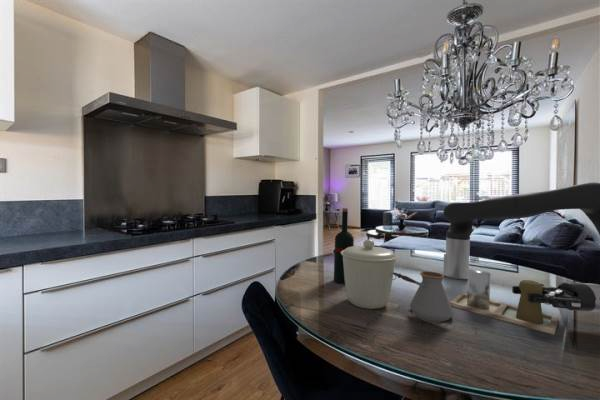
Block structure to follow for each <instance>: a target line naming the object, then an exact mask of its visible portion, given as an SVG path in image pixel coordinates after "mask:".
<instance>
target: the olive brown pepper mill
mask: <svg viewBox="0 0 600 400" xmlns="http://www.w3.org/2000/svg"><path fill="white" fill-rule="evenodd" d="M541 284H542V283H540V282H538V281H534V280H530V279H529V280H528V279H523V280H520V282H519V284H518V286H519V288H520V290H521V294H519V295H520V297H519V300H518V305H517V307H518V309H517V314H516V318H517V319H519V320H523V321H527V322H530V323H534V324H538V325H541V324H543V316H542V313H543V311H542V309H543V308H542V303H531V302H529V301H528V294H541V293H542V291H543V288H542V285H541Z"/></svg>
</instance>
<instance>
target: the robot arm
mask: <svg viewBox="0 0 600 400" xmlns="http://www.w3.org/2000/svg"><path fill="white" fill-rule="evenodd" d="M559 210H562V211H563V210H580V211H581V212H583V213H584V214H585V216H586V217H587V218H588V219H589V221H591V223H592V225H593V226H594V227H595V229H596V231H597V233H598V235H599V236H600V182H596V181H595V182H583V183H579V184H576V185H575V184H574V185H570V186H566V187H561V188H556V189H552V190H551V189H550V190H542V191H533V192H527V193H525V192H524V193H517V194H509V195H503V196H497V197H492V198H487V199H484V200H479V201H478V200H477V201H468V202H460V201H458V202H450V203H449V204H448V205H446V206H445V207H444V208H443V212H442V213H443V217H444V219H445V220H446V221H448V222H450V223H449V224H450V225H449V228H448V230H447V231H446V235H445V254H443V269H442V270H443V273H442V275H444V277H447V278H449V279H450V278H451V279H455V280H468V270H469V269H470V248H471V245H470V244H471V234H472V232H473V225H474V224H473V223H474V221H476V220H516V219H525V218H526V219H527V218H531V217H535V216H539V215H542V214H545V213H549V212H552V211H559ZM540 284H541V285H542V288H543V291H542V293H541V294H528V301H529V302H531V303H541V304H545V305H547V306H551V307H553V308H555V309H566V310H569V311H576V312H577V311H578V312H593V313H600V284H597V283H588V282H587V283H585V282H565V281H564V282H562V283H560V284H559V285H558V286H557V287H555V286H551V285H550V286H549V285H548V286H545V285H544V283H540ZM511 288H512V289H511V292H512V294H514V295H521V290H520V288H519V285H513V286H512V287H511Z"/></svg>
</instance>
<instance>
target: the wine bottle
mask: <svg viewBox="0 0 600 400" xmlns="http://www.w3.org/2000/svg"><path fill="white" fill-rule="evenodd" d="M341 209H342V211H341V212H342V213H341V214H342V216H341V217H342V218H341V231H339V232H338V233H337V234H336V235H335V236H334V255H333V256H334V258H333V259H334V263H333V282H334V283H335V284H339V285H345V278H344V265H343V256H342V255H341V251H343V250H345V249H346V248H348V247H352V246H355V245H354V243H355V239H354V238H355V237H354V236H353V235H352V233H351V232H349V231H348V218H349V217H348V216H349V215H348V214H349V213H348V212H349V211H348V210H349V208H345V207H344V208H341Z"/></svg>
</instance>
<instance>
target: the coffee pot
mask: <svg viewBox="0 0 600 400" xmlns="http://www.w3.org/2000/svg"><path fill="white" fill-rule="evenodd" d="M391 274H393V276H394V278H393V279H392V281H395V280H396V279H397V278H399V279H402V280H403V281H406V282H409V283H410V284H411V283H412V284H415V285H417V286H418V288H417V290H416V292H415V294H414V296H413V298H412V299H411V302H410V304H409V306H410V309H411V312H413V314H415V315H416V317H417V319H420V320H422V321H424V322H426V323H430V324H436V325H437V324H443V323H445V322H446V321H448V320H450V319H451V318H452V316H453V315H454V311H453V306H451V305H450V300H449V297H448V295H447V293H446V290H445V288H444V285H443V283H442V281H443V279H445V275H443V273H439V272H435V271H427V270H426V271H421V272H420V273H419V274H420V276H421V279H422V280H421V282H419V281H417V280H415V279H414V278H411V277H409V276H407V275H404V274H402V273H400V272H399V273H397V272H394V273H391ZM391 274H390V275H391ZM390 279H391V277H390Z"/></svg>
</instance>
